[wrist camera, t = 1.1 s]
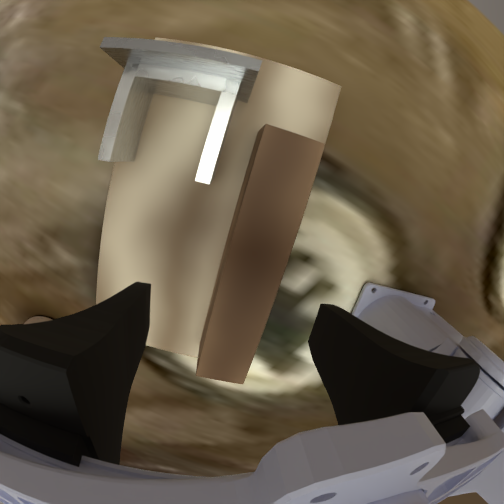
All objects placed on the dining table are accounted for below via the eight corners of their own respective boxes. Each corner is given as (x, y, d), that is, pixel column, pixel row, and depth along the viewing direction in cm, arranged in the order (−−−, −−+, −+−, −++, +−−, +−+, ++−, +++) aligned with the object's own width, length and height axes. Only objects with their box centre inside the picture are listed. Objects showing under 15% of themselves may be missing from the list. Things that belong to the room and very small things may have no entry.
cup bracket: (250, 95, 17) (262, 60, 11) (223, 182, 19) (221, 192, 12) (141, 73, 16) (104, 37, 9) (115, 157, 18) (65, 157, 11)
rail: (306, 147, 19) (325, 143, 15) (240, 352, 23) (243, 384, 19) (257, 131, 18) (265, 123, 14) (199, 344, 23) (195, 375, 19)
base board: (336, 89, 18) (341, 86, 17) (248, 360, 25) (249, 367, 24) (158, 42, 16) (155, 37, 15) (99, 324, 22) (95, 329, 21)
